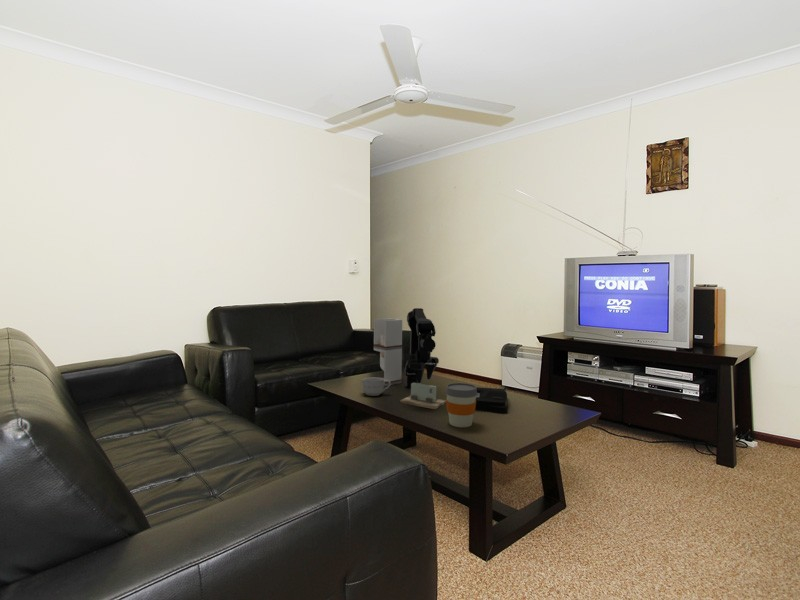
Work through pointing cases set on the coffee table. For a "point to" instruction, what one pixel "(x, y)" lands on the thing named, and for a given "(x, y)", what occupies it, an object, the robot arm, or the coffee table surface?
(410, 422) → the coffee table surface
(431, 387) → the door slab
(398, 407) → the coffee table surface
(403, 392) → the coffee table surface
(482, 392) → the gaming console
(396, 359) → the white stacked tower
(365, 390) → the teacup
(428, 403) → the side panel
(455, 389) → the reusable coffee cup
